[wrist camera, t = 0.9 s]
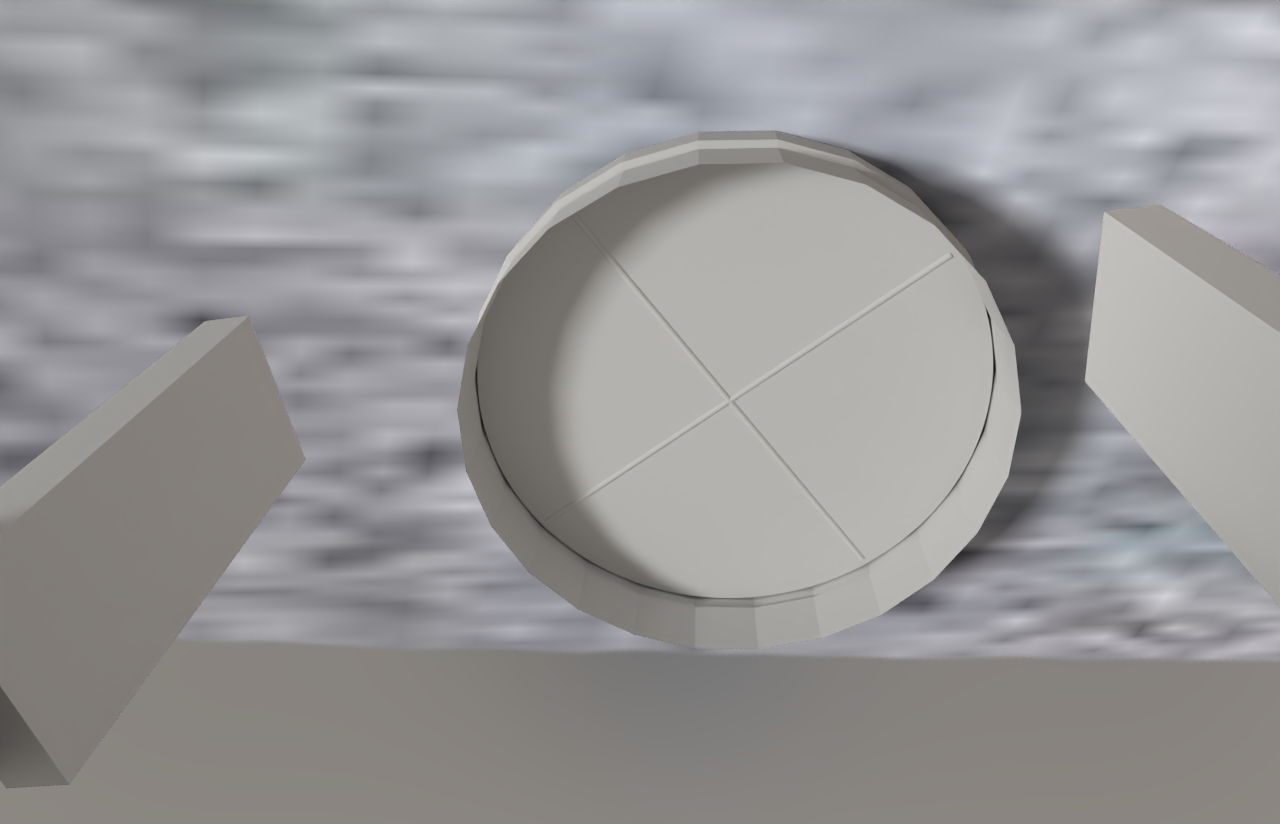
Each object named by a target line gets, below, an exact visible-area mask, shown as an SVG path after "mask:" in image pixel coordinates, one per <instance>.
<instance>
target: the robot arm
mask: <svg viewBox="0 0 1280 824" xmlns="http://www.w3.org/2000/svg"><path fill="white" fill-rule="evenodd" d="M1085 382H1086V383H1087V384H1088V386H1089V387H1090V388H1091V389H1092V390H1093V391H1094V393H1095V394H1096V395H1097V396H1098V397H1099V398H1100V400H1101V401H1102V402H1103V403H1104V404H1105V405H1106V406H1107V408H1108V409H1109V410H1110V411H1111V412H1112V413H1113V415H1114V416H1115V417H1116V418H1117V419H1118V420H1119V421H1120V423H1121V424H1122V425H1123V426H1124V427H1125V428H1126V430H1127V431H1128V432H1129V433H1130V434H1131V435H1132V437H1133V438H1134V439H1135V440H1136V441H1137V442H1138V443H1139V445H1140V446H1141V447H1142V448H1143V449H1144V450H1145V452H1146V453H1147V454H1148V455H1149V456H1150V457H1151V458H1152V460H1153V461H1154V462H1155V463H1156V464H1157V465H1158V467H1159V468H1160V469H1161V470H1162V471H1163V472H1164V474H1165V475H1166V476H1167V477H1168V478H1169V479H1170V480H1171V482H1172V483H1173V484H1174V485H1175V486H1176V487H1177V489H1178V490H1179V491H1180V492H1181V493H1182V494H1183V495H1184V497H1185V498H1186V499H1187V500H1188V501H1189V502H1190V504H1191V505H1192V506H1193V507H1194V508H1195V509H1196V511H1197V512H1198V513H1199V514H1200V515H1201V516H1202V517H1203V519H1204V520H1205V521H1206V522H1207V523H1208V524H1209V526H1210V527H1211V528H1212V529H1213V530H1214V531H1215V532H1216V534H1217V535H1218V536H1219V537H1220V538H1221V539H1222V541H1223V542H1224V543H1225V544H1226V545H1227V546H1228V548H1229V549H1230V550H1231V551H1232V552H1233V553H1234V554H1235V556H1236V557H1237V558H1238V559H1239V560H1240V561H1241V563H1242V564H1243V565H1244V566H1245V567H1246V568H1247V569H1248V571H1249V572H1250V573H1251V574H1252V575H1253V576H1254V578H1255V579H1256V580H1257V581H1258V582H1259V583H1260V585H1261V586H1262V587H1263V588H1264V589H1265V590H1266V591H1267V593H1268V594H1269V595H1270V596H1271V597H1272V598H1273V600H1274V601H1275V602H1276V603H1277V604H1278V605H1279V607H1280V275H1279V274H1277V273H1275V272H1274V271H1272V270H1270V269H1268V268H1267V267H1265V266H1263V265H1262V264H1260V263H1258V262H1257V261H1255V260H1253V259H1252V258H1250V257H1248V256H1247V255H1245V254H1243V253H1241V252H1240V251H1238V250H1236V249H1235V248H1233V247H1231V246H1230V245H1228V244H1226V243H1225V242H1223V241H1221V240H1219V239H1218V238H1216V237H1214V236H1213V235H1211V234H1209V233H1208V232H1206V231H1204V230H1203V229H1201V228H1199V227H1198V226H1196V225H1194V224H1192V223H1191V222H1189V221H1187V220H1186V219H1184V218H1182V217H1181V216H1179V215H1177V214H1176V213H1174V212H1172V211H1170V210H1169V209H1167V208H1165V207H1164V206H1162V205H1154V206H1145V207H1137V208H1129V209H1121V210H1113V211H1104V217H1103V226H1102V235H1101V243H1100V252H1099V261H1098V269H1097V278H1096V287H1095V296H1094V304H1093V313H1092V322H1091V330H1090V339H1089V348H1088V357H1087V365H1086V374H1085ZM305 460H306V459H305V456H304V454H303V451H302V449H301V446H300V444H299V441H298V439H297V436H296V433H295V431H294V428H293V426H292V423H291V421H290V418H289V416H288V413H287V411H286V408H285V405H284V403H283V400H282V398H281V395H280V393H279V390H278V388H277V385H276V383H275V380H274V378H273V375H272V372H271V370H270V367H269V365H268V362H267V360H266V357H265V355H264V352H263V350H262V347H261V344H260V342H259V339H258V337H257V334H256V332H255V329H254V327H253V324H252V322H251V319H250V317H249V316H244V317H236V318H228V319H219V320H211V321H205V322H204V323H202V324H201V325H200V326H199V327H197V328H196V329H195V330H194V331H192V332H191V333H190V334H189V335H188V336H186V337H185V338H184V339H183V340H181V341H180V342H179V343H178V344H176V345H175V346H174V347H173V348H171V349H170V350H169V351H168V352H166V353H165V354H164V355H163V356H162V357H160V358H159V359H158V360H157V361H155V362H154V363H153V364H152V365H150V366H149V367H148V368H147V369H145V370H144V371H143V372H142V373H140V374H139V375H138V376H137V377H136V378H134V379H133V380H132V381H131V382H129V383H128V384H127V385H126V386H124V387H123V388H122V389H121V390H119V391H118V392H117V393H116V394H115V395H113V396H112V397H111V398H110V399H108V400H107V401H106V402H105V403H103V404H102V405H101V406H100V407H98V408H97V409H96V410H95V411H93V412H92V413H91V414H90V415H89V416H87V417H86V418H85V419H84V420H82V421H81V422H80V423H79V424H77V425H76V426H75V427H74V428H72V429H71V430H70V431H69V432H67V433H66V434H65V435H64V436H63V437H61V438H60V439H59V440H58V441H56V442H55V443H54V444H53V445H51V446H50V447H49V448H48V449H46V450H45V451H44V452H43V453H42V454H40V455H39V456H38V457H37V458H35V459H34V460H33V461H32V462H30V463H29V464H28V465H27V466H25V467H24V468H23V469H22V470H20V471H19V472H18V473H17V474H16V475H14V476H13V477H12V478H11V479H9V480H8V481H7V482H6V483H4V484H3V485H2V486H1V487H0V781H1V782H2V783H3V784H4V785H5V787H6V788H17V787H35V786H54V785H69V784H70V783H71V782H72V780H73V779H74V778H75V776H76V775H77V773H78V772H79V771H80V769H81V768H82V767H83V765H84V764H85V762H86V761H87V760H88V758H89V757H90V755H91V754H92V753H93V751H94V750H95V749H96V747H97V746H98V745H99V743H100V742H101V740H102V739H103V738H104V736H105V735H106V733H107V732H108V731H109V729H110V728H111V727H112V725H113V724H114V723H115V721H116V720H117V718H118V717H119V716H120V714H121V713H122V712H123V710H124V709H125V707H126V706H127V705H128V703H129V702H130V700H131V699H132V698H133V696H134V695H135V694H136V692H137V691H138V689H139V688H140V687H141V685H142V684H143V683H144V681H145V680H146V678H147V677H148V676H149V674H150V673H151V672H152V670H153V669H154V667H155V666H156V665H157V663H158V662H159V661H160V659H161V658H162V656H163V655H164V654H165V652H166V651H167V650H168V648H169V647H170V645H171V644H172V642H173V641H174V640H175V639H176V637H177V636H178V634H179V633H180V632H181V630H182V629H183V628H184V626H185V625H186V623H187V622H188V621H189V619H190V618H191V617H192V615H193V614H194V612H195V611H196V610H197V608H198V607H199V606H200V604H201V603H202V601H203V600H204V599H205V597H206V596H207V595H208V593H209V592H210V590H211V589H212V588H213V586H214V585H215V584H216V582H217V581H218V579H219V578H220V577H221V575H222V574H223V573H224V571H225V570H226V568H227V567H228V566H229V564H230V563H231V562H232V560H233V559H234V557H235V556H236V555H237V553H238V552H239V551H240V549H241V548H242V546H243V545H244V544H245V542H246V541H247V540H248V538H249V537H250V535H251V534H252V533H253V531H254V530H255V529H256V527H257V526H258V524H259V523H260V522H261V520H262V519H263V517H264V516H265V515H266V513H267V512H268V511H269V509H270V508H271V506H272V505H273V504H274V502H275V501H276V500H277V498H278V497H279V495H280V494H281V493H282V491H283V490H284V489H285V487H286V486H287V484H288V483H289V482H290V480H291V479H292V478H293V476H294V475H295V473H296V472H297V471H298V469H299V468H300V467H301V465H302V464H303V462H304V461H305Z"/></svg>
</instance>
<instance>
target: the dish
mask: <svg viewBox="0 0 1280 824" xmlns="http://www.w3.org/2000/svg"><path fill="white" fill-rule="evenodd" d="M457 412H458V418H459V425H460V432H461V439H462V446H463V452H464V459H465V466H466V472H467V474H468V476H469V478H470V480H471V483H472V485H473V487H474V489H475V491H476V494H477V496H478V498H479V500H480V502H481V505H482V507H483V509H484V511H485V513H486V516H487V518H488V520H489V522H490V524H491V526H492V528H493V529H494V530H495V531H496V533H497V534H498V535H499V536H500V537H501V539H502V540H503V541H504V542H505V544H506V545H507V546H508V547H509V548H510V550H511V551H512V552H513V553H514V555H515V556H516V557H517V558H518V560H519V561H520V562H521V563H522V564H523V566H524V567H525V568H526V569H527V571H528V572H529V573H530V574H532V575H533V576H534V577H536V578H537V579H538V580H540V581H541V582H542V583H544V584H545V585H546V586H548V587H549V588H550V589H552V590H553V591H554V592H556V593H557V594H558V595H560V596H561V597H562V598H564V599H565V600H567V601H568V602H569V603H571V604H572V605H573V606H575V607H576V608H577V609H579V610H581V611H583V612H586V613H588V614H590V615H592V616H594V617H597V618H599V619H601V620H603V621H606V622H608V623H610V624H612V625H614V626H617V627H619V628H621V629H623V630H625V631H628V632H630V633H632V634H634V635H639V636H643V637H648V638H652V639H657V640H661V641H665V642H670V643H674V644H679V645H683V646H688V647H692V648H711V649H763V648H769V647H775V646H781V645H786V644H792V643H798V642H803V641H809V640H815V639H821V638H823V637H826V636H829V635H831V634H834V633H836V632H839V631H841V630H844V629H847V628H849V627H852V626H854V625H857V624H859V623H862V622H865V621H867V620H870V619H872V618H875V617H877V616H880V615H882V614H883V613H885V612H886V611H888V610H889V609H891V608H892V607H894V606H895V605H897V604H898V603H900V602H901V601H903V600H904V599H906V598H907V597H909V596H910V595H912V594H913V593H915V592H916V591H918V590H919V589H921V588H922V587H924V586H925V585H927V584H928V583H930V582H931V581H933V580H934V579H935V578H936V577H937V576H938V575H939V574H940V573H941V571H942V570H943V569H944V568H945V567H946V566H947V565H948V564H949V563H950V562H951V561H952V560H953V559H954V558H955V556H956V555H957V554H958V553H959V552H960V551H961V550H962V549H963V548H964V547H965V546H966V545H967V544H968V543H969V542H970V540H971V539H972V538H973V537H974V536H975V535H976V534H977V533H978V531H979V529H980V528H981V526H982V524H983V522H984V520H985V518H986V517H987V515H988V513H989V511H990V509H991V507H992V505H993V504H994V502H995V500H996V498H997V496H998V494H999V493H1000V491H1001V489H1002V487H1003V485H1004V483H1005V482H1006V480H1007V478H1008V476H1009V471H1010V466H1011V461H1012V456H1013V451H1014V447H1015V442H1016V437H1017V432H1018V427H1019V422H1020V418H1021V403H1020V393H1019V383H1018V373H1017V363H1016V353H1015V345H1014V343H1013V341H1012V339H1011V336H1010V334H1009V332H1008V330H1007V327H1006V325H1005V323H1004V321H1003V318H1002V316H1001V314H1000V312H999V309H998V307H997V305H996V303H995V300H994V298H993V296H992V294H991V291H990V289H989V287H988V284H987V282H986V281H985V280H984V279H983V277H982V276H981V275H980V274H979V273H978V272H977V270H976V268H975V266H974V264H973V261H972V259H971V257H970V255H969V253H968V252H967V250H966V249H965V248H964V247H963V246H962V245H961V244H960V242H959V241H958V240H957V239H956V238H955V237H954V236H953V235H952V233H951V232H950V231H949V230H948V229H947V228H946V227H945V226H944V225H943V224H942V222H941V221H940V220H939V219H938V218H937V217H936V216H935V215H934V214H933V213H932V211H931V210H930V209H929V208H928V207H927V206H926V205H925V204H924V203H923V202H922V200H921V199H920V198H919V197H918V196H917V195H916V194H915V193H914V192H913V191H912V189H911V188H910V187H908V186H907V185H905V184H903V183H902V182H900V181H898V180H897V179H895V178H893V177H892V176H890V175H888V174H887V173H885V172H883V171H882V170H880V169H878V168H877V167H875V166H873V165H872V164H870V163H868V162H867V161H865V160H863V159H862V158H860V157H858V156H857V155H855V154H853V153H852V152H850V151H848V150H846V149H842V148H838V147H835V146H831V145H827V144H823V143H820V142H816V141H812V140H808V139H805V138H801V137H797V136H793V135H789V134H786V133H782V132H778V131H723V132H696V133H693V134H689V135H686V136H683V137H679V138H676V139H672V140H669V141H665V142H662V143H659V144H655V145H652V146H648V147H645V148H641V149H638V150H635V151H631V152H628V153H625V154H623V155H622V156H620V157H618V158H617V159H615V160H613V161H612V162H610V163H609V164H607V165H605V166H604V167H602V168H600V169H599V170H597V171H596V172H594V173H592V174H591V175H589V176H587V177H586V178H584V179H582V180H581V181H579V182H578V183H576V184H574V185H573V186H571V187H569V188H568V189H566V190H565V191H563V192H562V193H561V195H560V196H559V197H558V198H557V199H556V200H555V201H554V202H553V203H552V204H551V206H550V207H549V208H548V209H547V210H546V211H545V212H544V213H543V214H542V215H541V217H540V218H539V219H538V220H537V221H536V222H535V223H534V224H533V225H532V226H531V228H530V229H529V230H528V231H527V232H526V233H525V234H524V235H523V236H522V237H521V239H520V240H519V241H518V242H517V244H516V245H515V247H514V249H513V250H512V251H511V252H510V253H509V254H508V256H507V258H506V260H505V262H504V264H503V266H502V268H501V270H500V272H499V274H498V276H497V278H496V280H495V282H494V284H493V286H492V289H491V291H490V293H489V295H488V297H487V299H486V301H485V303H484V305H483V307H482V309H481V311H480V313H479V316H478V322H477V328H476V330H475V332H474V334H473V336H472V338H471V340H470V342H469V344H468V346H467V352H466V358H465V365H464V371H463V377H462V383H461V390H460V396H459V402H458V408H457Z"/></svg>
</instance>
